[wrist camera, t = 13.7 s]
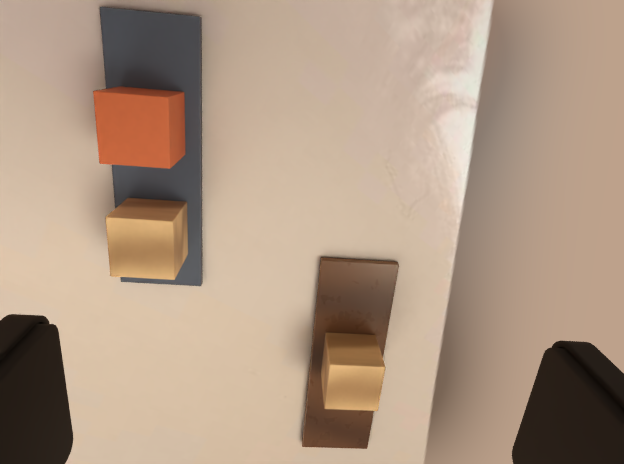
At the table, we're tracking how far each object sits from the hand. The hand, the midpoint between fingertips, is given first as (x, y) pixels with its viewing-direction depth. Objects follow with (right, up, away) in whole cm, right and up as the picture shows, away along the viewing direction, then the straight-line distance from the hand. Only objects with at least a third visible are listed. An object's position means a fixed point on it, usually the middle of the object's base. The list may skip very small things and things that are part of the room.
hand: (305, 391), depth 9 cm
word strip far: (+3, -8, +32) cm, 33 cm away
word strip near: (-11, +8, +24) cm, 28 cm away
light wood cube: (+3, -8, +31) cm, 32 cm away
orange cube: (-11, +11, +23) cm, 28 cm away
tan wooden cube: (-12, +3, +26) cm, 28 cm away
